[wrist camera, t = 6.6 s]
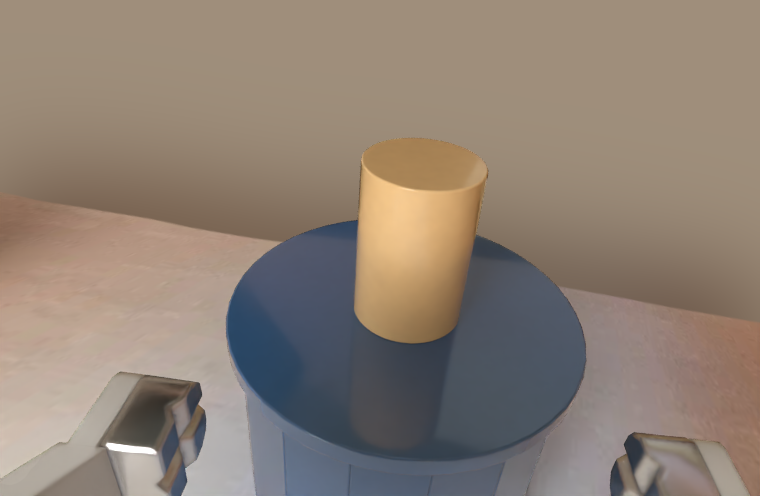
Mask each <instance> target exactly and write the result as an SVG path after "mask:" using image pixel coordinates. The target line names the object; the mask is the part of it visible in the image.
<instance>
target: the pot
mask: <svg viewBox="0 0 760 496" xmlns="http://www.w3.org/2000/svg"><path fill="white" fill-rule="evenodd" d="M245 399H246V409H247V419H248V429H249V439H250V449H251V457H252V465H253V474H254V481H255V489H256V496H525V493H526V491H527V488H528V485H529V483H530V480H531V477H532V475H533V472H534V469H535V467H536V464H537V461H538V459H539V456H540V453H541V451H542V448H543V445H544V443H545V440H546V438H544V439H543V440H541V441H540V442H539V443H537V444H536V445H534V446H533V447H532V448H530V449H529V450H527V451H525V452H523V453H521V454H519V455H517V456H515V457H513V458H511V459H509V460H507V461H504V462H501V463H498V464H495V465H492V466H489V467H486V468H482V469H479V470H473V471H468V472H462V473H456V474H449V475H429V476H416V475H402V474H390V473H385V472H379V471H374V470H369V469H364V468H360V467H356V466H353V465H350V464H347V463H344V462H340V461H337V460H334V459H332V458H329V457H327V456H325V455H323V454H321V453H318V452H316V451H314V450H312V449H310V448H307V447H306V446H304V445H303V444H301V443H299V442H298V441H296V440H294V439H293V438H291V437H290V436H288V435H286V434H285V433H283V432H282V431H281V430H280V429H279V428H277V427H276V426H275V425H274V424H273V423H271V422H270V421H269V420H268V419H267V418H265V417H264V415H263V414H262V413H261V412H260V411H259V410H258V409H257V408H256V407H255V405H254V404H253V403H252V402H251V401H250V400H249V398H248V397H247V395H246V394H245Z"/></svg>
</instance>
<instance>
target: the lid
mask: <svg viewBox="0 0 760 496" xmlns="http://www.w3.org/2000/svg"><path fill="white" fill-rule="evenodd" d="M487 178H488V168H487V165H486V164H485V162H484V161H483V160H482V159H481V158H480V157H479V156H478V155H476V154H474V153H473V152H471V151H469V150H467V149H465V148H463V147H460V146H457V145H454V144H451V143H448V142H443V141H438V140H432V139H424V138H401V139H400V138H399V139H391V140H386V141H383V142H379V143H377V144H374V145H372V146H371V147H369V148H368V149H366V151H365V152H364V153H363V155H362V157H361V171H360V188H359V189H360V190H359V207H358V220H356V221H347V222H341V223H336V224H331V225H327V226H323V227H320V228H316V229H313V230H310V231H307V232H304V233H302V234H299V235H297V236H295V237H292V238H290V239H288V240H286V241H285V242H283V243H281V244H279V245H277V246H276V247H274V248H273V249H271V250H270V251H268V252H267V253H265V254H264V255H263V256H262V257H261V258H260V259H258V260H257V261H256V262H255V263H254V264H253V265H252V266H251V267H250V268H249V269H248V271H247V272H246V273H245V274H244V275H243V277H242V278H241V280H240V281H239V283H238V285H237V286H236V288H235V290H234V292H233V295H232V297H231V300H230V302H229V306H228V311H227V316H226V340H227V348H228V353H229V358H230V363H231V366H232V368H233V371H234V373H235V376H236V378H237V381H238V383H239V384H240V386H241V387H242V389H243V391H244V392H245V394H246V395H247V397H248V398H249V400H250V401H251V402H252V403H253V404H254V405H255V407H256V408H257V409H258V410H259V411H260V412H261V413H262V414H263V415H264V417H265V418H267V419H268V420H269V421H270V422H271V423H273V424H274V425H275V426H276V427H277V428H279V429H280V430H281V431H282V432H283V433H285V434H286V435H288V436H290V437H291V438H293V439H294V440H296V441H298V442H299V443H301V444H303V445H304V446H306V447H307V448H310V449H312V450H314V451H316V452H318V453H321V454H323V455H325V456H327V457H329V458H332V459H334V460H337V461H340V462H344V463H347V464H350V465H353V466H356V467H360V468H364V469H369V470H374V471H379V472H385V473H390V474H402V475H416V476H429V475H449V474H456V473H462V472H468V471H473V470H479V469H482V468H486V467H489V466H492V465H495V464H498V463H501V462H504V461H507V460H509V459H511V458H513V457H515V456H517V455H519V454H521V453H523V452H525V451H527V450H529V449H530V448H532V447H533V446H534V445H536V444H537V443H539V442H540V441H541V440H543V439H544V438H546V437H547V436H548V435H549V434H550V433H551V432H552V431H553V430H554V429H555V428H556V427H557V426H558V425H559V424H560V423H561V422H562V420H563V419H564V417H565V416H566V414H567V413H568V411H569V410H570V408H571V407H572V405H573V403H574V400H575V398H576V395H577V393H578V390H579V388H580V385H581V383H582V380H583V378H584V372H585V366H586V343H585V339H584V334H583V330H582V327H581V324H580V322H579V320H578V317H577V315H576V312H575V311H574V309H573V308H572V306H571V304H570V303H569V301H568V299H567V298H566V297H565V296H564V294H563V293H562V292H561V291H560V289H559V288H558V287H557V286H556V285H555V284H554V283H553V282H552V281H551V280H550V279H549V278H548V277H547V276H546V275H545V274H544V273H543V272H541V271H540V270H539V269H538V268H536V267H535V266H534V265H533V264H531V263H530V262H528V261H527V260H526V259H524V258H522V257H521V256H519V255H518V254H516V253H515V252H513V251H511V250H509V249H507V248H505V247H503V246H502V245H500V244H497V243H495V242H493V241H491V240H488V239H486V238H484V237H481V236H478V235H476V233H477V228H478V222H479V218H480V213H481V208H482V203H483V198H484V193H485V187H486V183H487Z"/></svg>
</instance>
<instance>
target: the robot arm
mask: <svg viewBox="0 0 760 496" xmlns="http://www.w3.org/2000/svg"><path fill="white" fill-rule="evenodd" d="M201 397H202V391H201V387H200V383H198V382H192V381H185V380H178V379H171V378H164V377H157V376H150V375H142V374H135V373H127V372H119V373H117V374H116V375H115V376H113V377H112V378H111V380H110V381H109V382H108V384H107V385H106V387H105V388H104V390H103V391H102V393H101V394H100V396H99V397H98V399H97V400H96V402H95V403H94V405H93V406H92V407H91V409H90V410H89V412H88V413H87V415H86V416H85V418H84V419H83V421H82V422H81V424H80V425H79V427H78V428H77V430H76V431H75V432H74V434H73V435H72V437H71V438H70V440H69V441H68V443H62V442H59V443H57V444H56V445H54V446H52V447H51V448H49V449H48V450H46V451H44V452H43V453H41V454H40V455H38V456H36V457H35V458H33V459H31V460H30V461H28V462H27V463H25V464H23V465H22V466H20V467H18V468H17V469H15V470H14V471H12V472H10V473H9V474H7V475H5V476H4V477H2V478H1V479H0V496H181V495H182V492H183V490H184V488H185V486H186V483H187V477H186V472H185V468H186V467H188V466H189V465H190V464H192V463H193V462H194V461H196V460H197V457H198V455H199V452H200V450H201V447H202V444H203V440H204V435H205V431H206V415H205V410H204V409H203V408H202V407H201V406H199V405H198V403H199V401H200V399H201ZM624 447H625V450H626V453H627V454H625V455H624V456H622V457H620V458H618V459H616V461H615V463H614V466H613V468H612V470H611V479H610V490H611V496H750V494H749V492H748V490H747V488H746V486H745V484H744V483H743V481H742V479H741V477H740V475H739V473H738V471H737V469H736V468H735V466H734V464H733V462H732V460H731V458H730V456H729V454H728V453H727V451H726V449H725V447H724V446H723V445H721V444H720V443H719V442H715V441H706V440H698V439H687V438H685V437H675V436H665V435H656V434H646V433H636V432H634V433H632V434H630V435H629V436H628V438H627V439H626V441H625V443H624Z"/></svg>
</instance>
